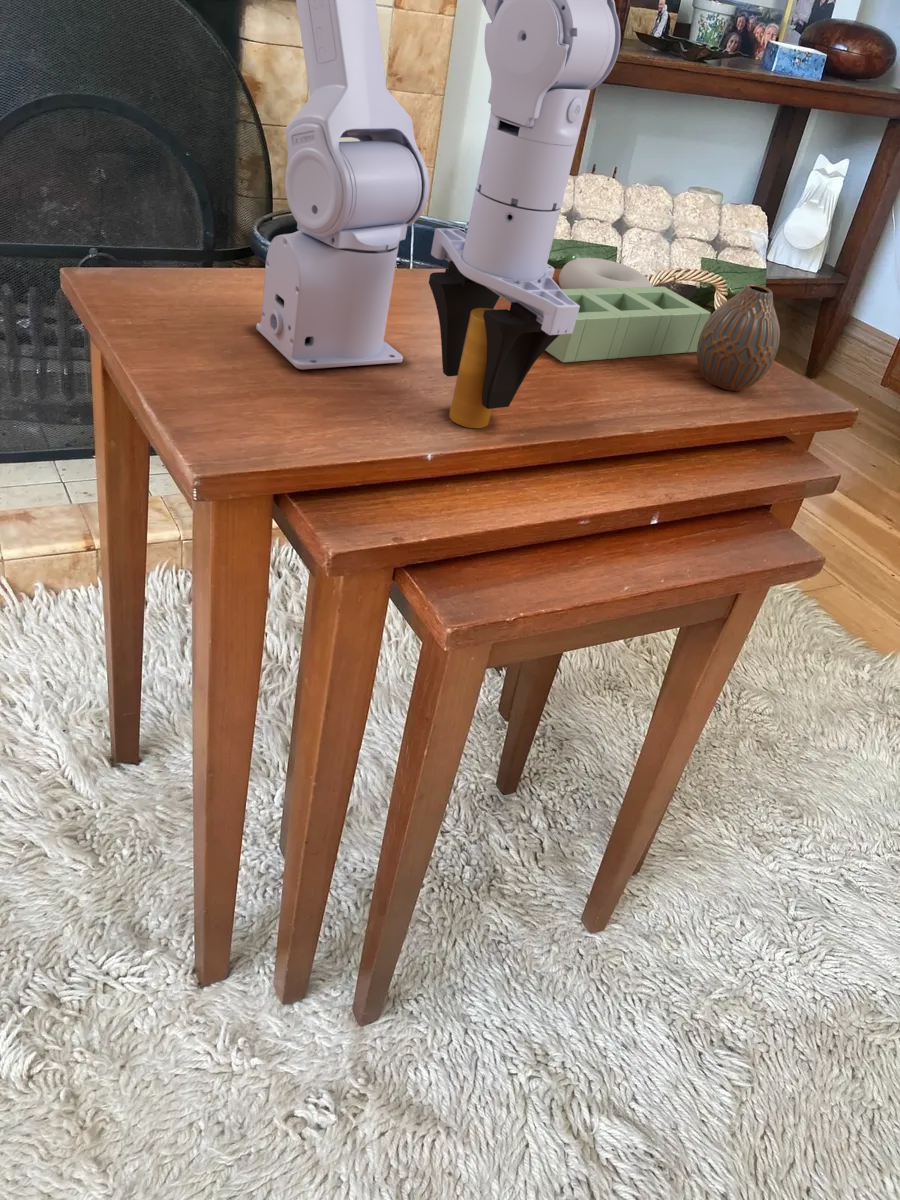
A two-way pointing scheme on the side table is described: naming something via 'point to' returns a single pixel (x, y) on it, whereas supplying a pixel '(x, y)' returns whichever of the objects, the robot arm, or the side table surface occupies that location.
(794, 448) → the side table surface
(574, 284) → the donut
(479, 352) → the peg
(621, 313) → the peg block
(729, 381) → the vase
